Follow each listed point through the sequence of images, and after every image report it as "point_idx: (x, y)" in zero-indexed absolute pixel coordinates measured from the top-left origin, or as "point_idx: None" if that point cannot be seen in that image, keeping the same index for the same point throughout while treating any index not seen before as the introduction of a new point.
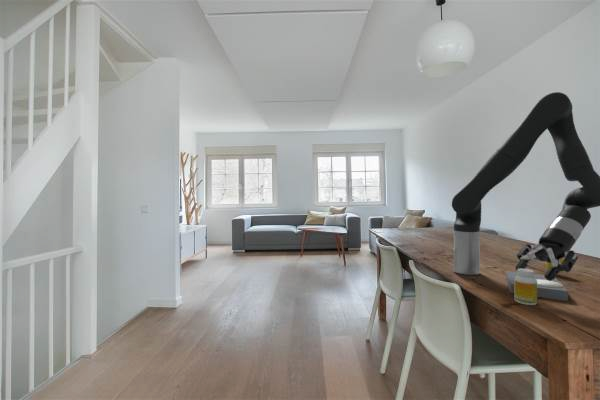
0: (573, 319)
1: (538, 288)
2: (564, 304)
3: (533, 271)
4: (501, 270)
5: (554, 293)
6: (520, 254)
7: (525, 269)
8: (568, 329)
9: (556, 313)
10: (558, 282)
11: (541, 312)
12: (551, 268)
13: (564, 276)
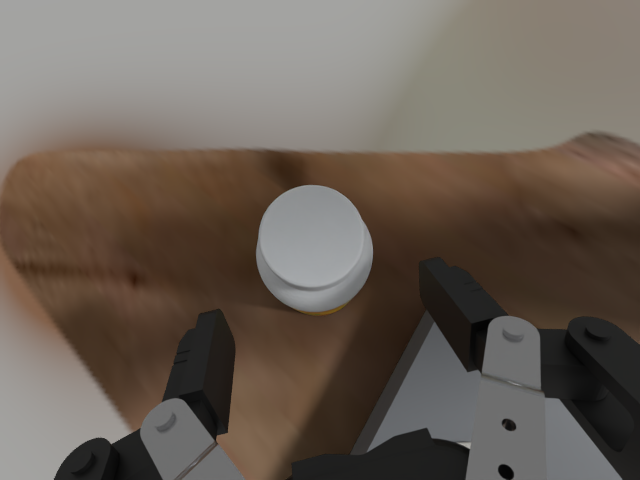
0: (133, 322)
1: (390, 403)
2: (280, 441)
3: (270, 265)
4: None
5: None
6: (597, 354)
7: (331, 248)
8: (72, 229)
9: (192, 305)
10: None
11: (209, 253)
12: (190, 376)
13: None
